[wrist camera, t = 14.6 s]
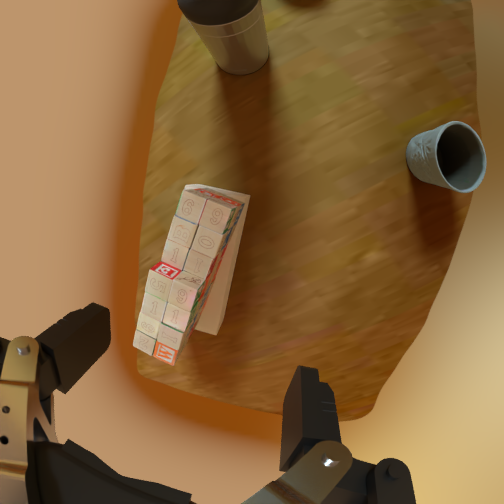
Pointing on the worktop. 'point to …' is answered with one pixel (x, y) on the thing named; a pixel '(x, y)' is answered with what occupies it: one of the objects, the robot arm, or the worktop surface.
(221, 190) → the block
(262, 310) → the worktop surface
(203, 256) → the stack of blocks
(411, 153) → the blue cup
